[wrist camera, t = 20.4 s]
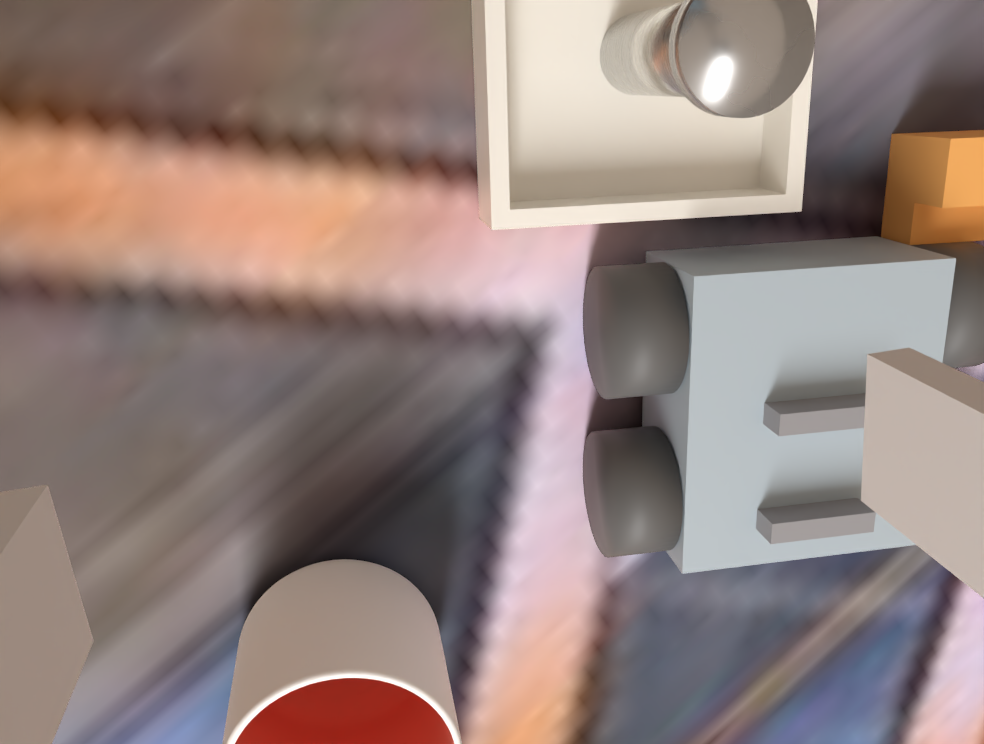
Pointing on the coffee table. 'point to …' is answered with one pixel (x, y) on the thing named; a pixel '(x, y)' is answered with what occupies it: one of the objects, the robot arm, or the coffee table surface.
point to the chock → (935, 188)
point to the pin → (713, 53)
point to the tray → (612, 130)
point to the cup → (341, 662)
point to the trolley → (759, 390)
